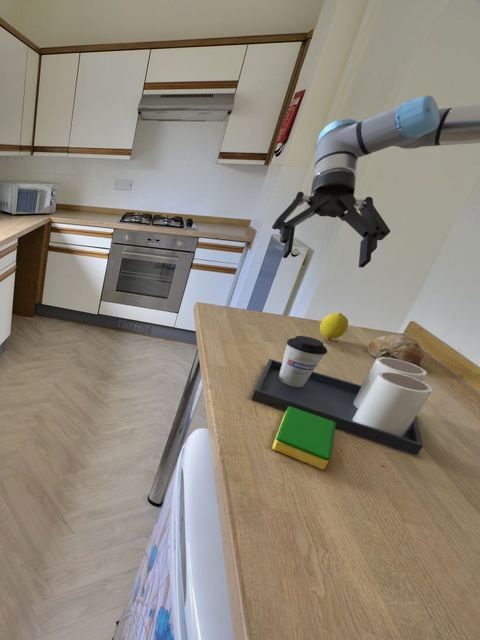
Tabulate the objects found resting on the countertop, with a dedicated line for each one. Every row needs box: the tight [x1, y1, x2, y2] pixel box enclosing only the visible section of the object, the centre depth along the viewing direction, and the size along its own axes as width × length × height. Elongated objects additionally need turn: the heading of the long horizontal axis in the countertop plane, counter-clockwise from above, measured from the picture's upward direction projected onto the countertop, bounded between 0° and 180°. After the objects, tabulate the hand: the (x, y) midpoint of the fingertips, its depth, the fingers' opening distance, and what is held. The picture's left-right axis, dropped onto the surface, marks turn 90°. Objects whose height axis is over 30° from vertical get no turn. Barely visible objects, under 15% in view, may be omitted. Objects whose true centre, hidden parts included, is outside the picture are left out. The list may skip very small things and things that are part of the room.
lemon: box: [319, 312, 349, 340], centre depth 112 cm, size 6×6×8 cm
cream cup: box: [353, 357, 428, 408], centre depth 79 cm, size 7×7×10 cm
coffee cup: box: [278, 335, 328, 387], centre depth 88 cm, size 7×7×10 cm
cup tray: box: [251, 358, 424, 457], centre depth 83 cm, size 24×19×2 cm
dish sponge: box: [271, 407, 336, 470], centre depth 71 cm, size 7×14×2 cm, turn 137°
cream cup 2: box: [352, 371, 433, 437], centre depth 73 cm, size 7×7×10 cm
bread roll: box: [366, 334, 425, 366], centre depth 104 cm, size 10×10×8 cm
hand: (324, 259), depth 88 cm, fingers open, 13 cm apart
